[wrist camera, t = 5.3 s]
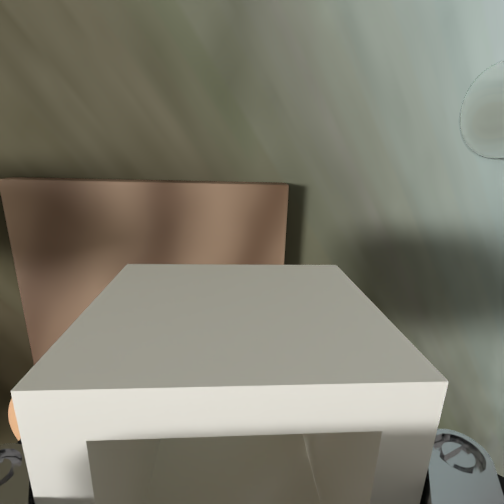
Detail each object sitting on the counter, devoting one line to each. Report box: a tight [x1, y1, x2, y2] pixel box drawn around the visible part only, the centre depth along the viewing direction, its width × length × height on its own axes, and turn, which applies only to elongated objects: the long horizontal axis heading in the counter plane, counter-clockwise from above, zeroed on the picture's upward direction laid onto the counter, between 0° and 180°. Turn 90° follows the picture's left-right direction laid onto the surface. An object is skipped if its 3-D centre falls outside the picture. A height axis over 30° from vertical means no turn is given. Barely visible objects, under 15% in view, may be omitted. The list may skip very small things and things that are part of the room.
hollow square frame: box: [10, 264, 449, 504], centre depth 9 cm, size 7×7×6 cm
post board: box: [0, 177, 289, 440], centre depth 18 cm, size 17×18×13 cm
